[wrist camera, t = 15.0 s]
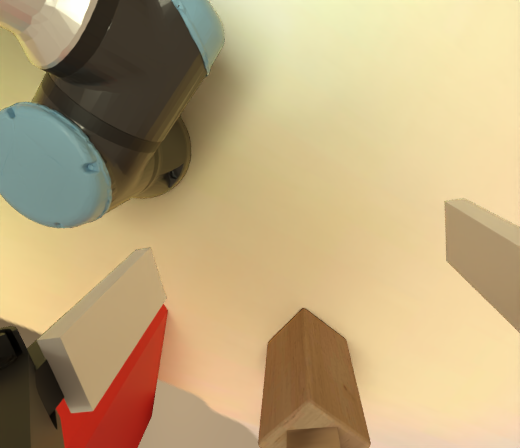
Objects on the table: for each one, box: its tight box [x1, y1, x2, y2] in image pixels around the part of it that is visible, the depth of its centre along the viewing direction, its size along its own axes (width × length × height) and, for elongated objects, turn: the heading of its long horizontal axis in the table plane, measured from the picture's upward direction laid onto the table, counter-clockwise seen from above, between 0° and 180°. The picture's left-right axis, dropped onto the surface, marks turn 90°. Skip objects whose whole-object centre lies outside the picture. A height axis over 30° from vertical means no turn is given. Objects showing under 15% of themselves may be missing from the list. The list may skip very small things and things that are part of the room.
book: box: [56, 304, 168, 448], centre depth 50 cm, size 27×8×32 cm, turn 167°
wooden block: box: [258, 308, 371, 448], centre depth 51 cm, size 10×10×20 cm
